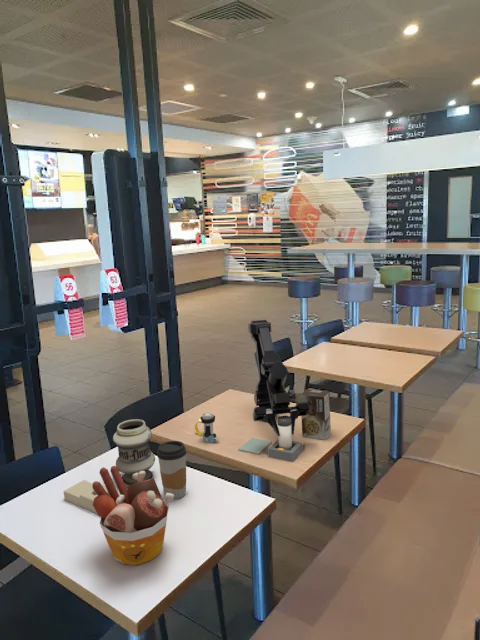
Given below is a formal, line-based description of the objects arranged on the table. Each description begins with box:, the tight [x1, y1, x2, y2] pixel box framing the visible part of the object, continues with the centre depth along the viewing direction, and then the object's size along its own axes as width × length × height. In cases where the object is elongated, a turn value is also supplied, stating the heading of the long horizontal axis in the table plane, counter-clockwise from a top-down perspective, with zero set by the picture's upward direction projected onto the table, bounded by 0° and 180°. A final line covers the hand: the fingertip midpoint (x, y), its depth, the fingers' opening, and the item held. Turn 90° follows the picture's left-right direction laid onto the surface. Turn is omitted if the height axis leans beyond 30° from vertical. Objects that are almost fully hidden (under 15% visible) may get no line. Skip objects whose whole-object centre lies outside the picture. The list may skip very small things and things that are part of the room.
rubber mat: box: [237, 437, 273, 456], centre depth 175 cm, size 10×8×1 cm
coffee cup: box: [156, 440, 187, 501], centre depth 145 cm, size 8×8×15 cm
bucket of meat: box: [92, 465, 174, 566], centre depth 120 cm, size 20×16×20 cm
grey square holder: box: [267, 438, 304, 463], centre depth 168 cm, size 9×9×3 cm
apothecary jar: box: [112, 418, 156, 487], centre depth 156 cm, size 12×12×18 cm
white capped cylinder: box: [277, 415, 293, 451], centre depth 167 cm, size 4×4×12 cm
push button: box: [199, 412, 219, 444], centre depth 180 cm, size 7×5×10 cm
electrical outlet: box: [63, 479, 120, 514], centre depth 145 cm, size 7×4×18 cm
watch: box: [194, 418, 204, 436], centre depth 187 cm, size 6×3×6 cm, turn 67°
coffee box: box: [299, 388, 332, 441], centre depth 180 cm, size 9×6×16 cm
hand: (285, 435), depth 165 cm, fingers closed on white capped cylinder, 4 cm apart
